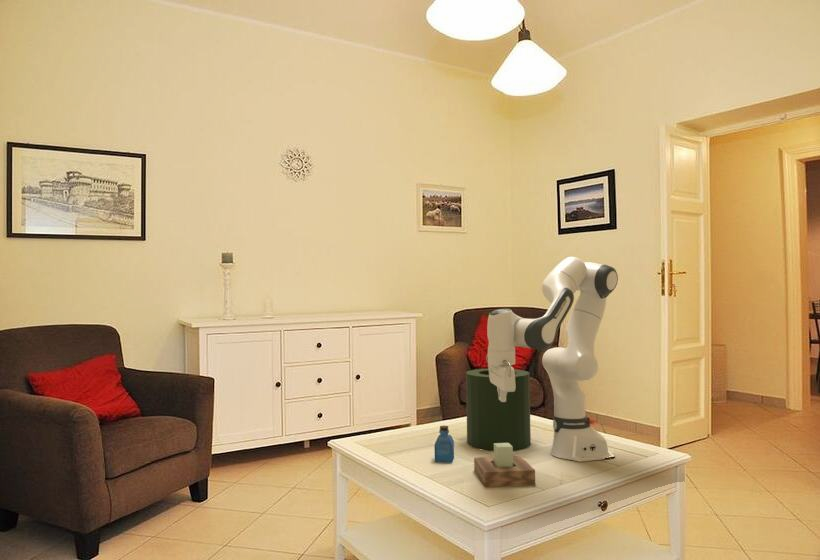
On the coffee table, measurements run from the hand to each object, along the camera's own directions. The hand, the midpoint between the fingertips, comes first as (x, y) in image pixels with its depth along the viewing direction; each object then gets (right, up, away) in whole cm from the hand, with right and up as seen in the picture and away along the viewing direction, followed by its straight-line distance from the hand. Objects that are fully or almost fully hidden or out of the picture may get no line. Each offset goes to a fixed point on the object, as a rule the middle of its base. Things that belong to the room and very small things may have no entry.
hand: (502, 401), depth 185 cm
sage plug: (0, -23, 0) cm, 23 cm away
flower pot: (+5, -26, +42) cm, 50 cm away
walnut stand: (0, -25, -1) cm, 25 cm away
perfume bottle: (-18, -26, +20) cm, 37 cm away
